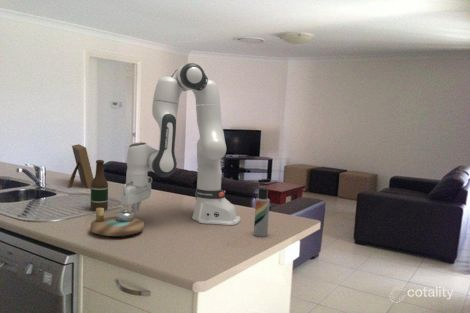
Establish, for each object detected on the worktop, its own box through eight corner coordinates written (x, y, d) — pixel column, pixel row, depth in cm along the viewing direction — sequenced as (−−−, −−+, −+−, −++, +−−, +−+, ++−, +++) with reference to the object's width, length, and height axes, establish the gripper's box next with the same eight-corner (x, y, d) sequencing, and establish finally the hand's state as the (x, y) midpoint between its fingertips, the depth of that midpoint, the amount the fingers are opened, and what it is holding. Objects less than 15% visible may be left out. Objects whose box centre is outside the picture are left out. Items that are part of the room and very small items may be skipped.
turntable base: (141, 229, 160) (142, 226, 160) (124, 239, 146) (124, 235, 146) (111, 225, 163) (111, 222, 163) (91, 234, 150) (91, 231, 150)
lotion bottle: (259, 232, 165) (261, 185, 163) (270, 235, 162) (273, 187, 160) (250, 234, 161) (253, 186, 159) (262, 238, 157) (265, 189, 155)
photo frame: (87, 182, 256) (88, 144, 254) (95, 188, 238) (95, 147, 235) (63, 183, 249) (63, 144, 246) (69, 189, 230) (69, 147, 227)
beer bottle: (89, 212, 182) (90, 161, 180) (91, 208, 190) (92, 159, 187) (107, 211, 184) (108, 161, 182) (108, 207, 192) (109, 159, 189)
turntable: (152, 224, 162) (152, 208, 161) (127, 238, 143) (127, 219, 142) (109, 219, 167) (109, 203, 166) (79, 231, 147) (79, 213, 147)
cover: (136, 218, 162) (137, 209, 162) (128, 222, 156) (128, 212, 155) (121, 216, 164) (122, 207, 164) (112, 220, 157) (112, 210, 157)
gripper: (131, 184, 156) (130, 218, 158) (154, 177, 176) (152, 208, 177) (117, 183, 158) (116, 216, 159) (141, 176, 178) (140, 206, 179)
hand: (135, 212), depth 168 cm, fingers closed
